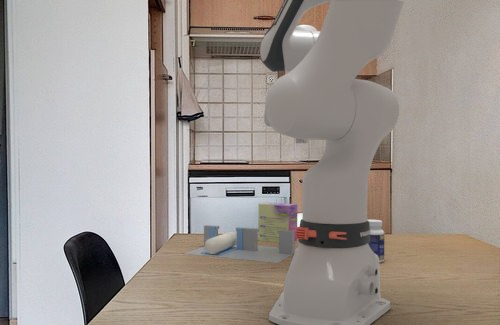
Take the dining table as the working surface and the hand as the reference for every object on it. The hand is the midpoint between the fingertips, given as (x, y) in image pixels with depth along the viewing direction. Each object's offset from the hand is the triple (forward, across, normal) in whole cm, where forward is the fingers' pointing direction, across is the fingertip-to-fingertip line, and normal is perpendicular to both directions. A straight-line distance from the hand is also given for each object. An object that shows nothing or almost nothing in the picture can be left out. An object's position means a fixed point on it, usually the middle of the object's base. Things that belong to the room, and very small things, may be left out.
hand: (301, 143), depth 120 cm
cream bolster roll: (+28, +20, +8) cm, 35 cm away
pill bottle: (+29, -18, 0) cm, 34 cm away
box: (+29, +12, -13) cm, 34 cm away
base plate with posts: (+29, +14, +6) cm, 33 cm away
